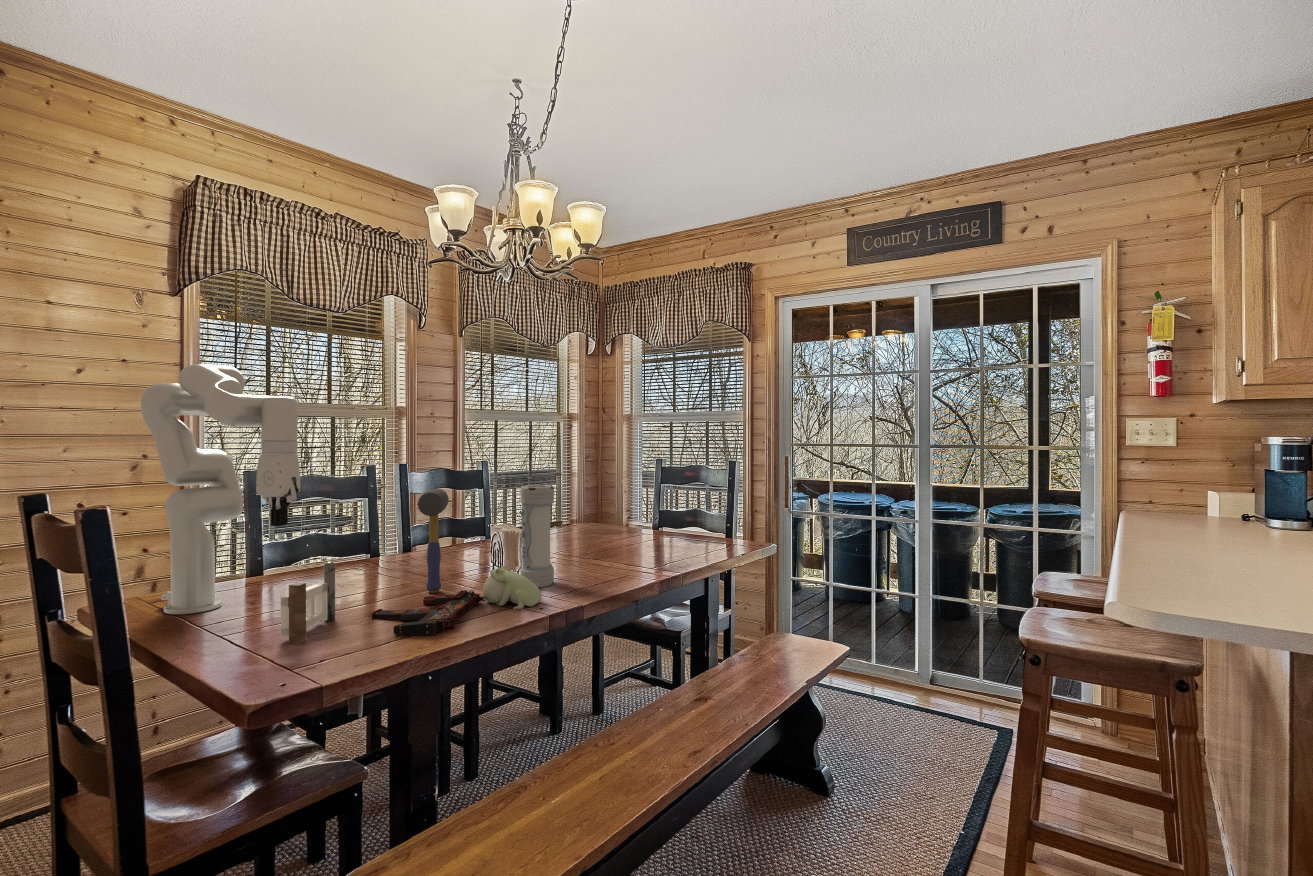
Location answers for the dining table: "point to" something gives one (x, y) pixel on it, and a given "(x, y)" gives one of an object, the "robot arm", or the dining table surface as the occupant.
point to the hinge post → (330, 589)
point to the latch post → (297, 613)
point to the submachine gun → (431, 613)
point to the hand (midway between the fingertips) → (279, 525)
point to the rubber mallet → (433, 533)
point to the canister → (536, 534)
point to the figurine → (510, 589)
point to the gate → (315, 607)
